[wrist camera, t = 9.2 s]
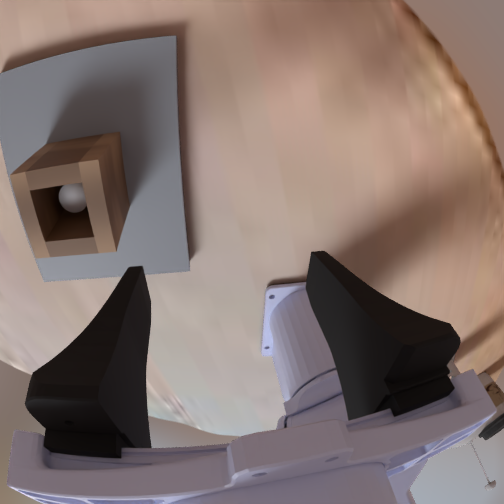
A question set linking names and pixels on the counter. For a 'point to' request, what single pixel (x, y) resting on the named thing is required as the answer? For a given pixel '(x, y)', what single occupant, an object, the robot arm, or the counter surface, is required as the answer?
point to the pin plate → (102, 122)
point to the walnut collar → (95, 190)
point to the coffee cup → (500, 400)
